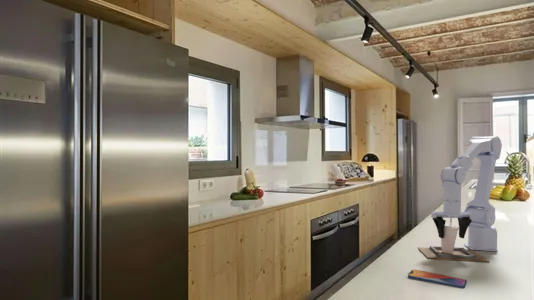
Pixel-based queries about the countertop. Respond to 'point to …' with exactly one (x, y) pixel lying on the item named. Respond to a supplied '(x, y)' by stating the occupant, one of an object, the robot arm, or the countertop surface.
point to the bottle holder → (458, 254)
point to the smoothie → (449, 238)
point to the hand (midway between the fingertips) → (451, 237)
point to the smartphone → (437, 278)
